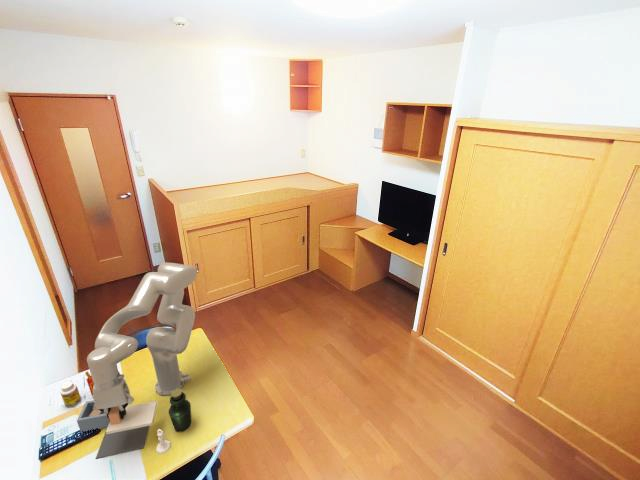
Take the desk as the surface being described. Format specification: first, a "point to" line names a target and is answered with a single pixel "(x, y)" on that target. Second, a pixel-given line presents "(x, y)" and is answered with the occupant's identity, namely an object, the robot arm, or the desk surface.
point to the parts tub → (92, 418)
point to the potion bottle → (180, 411)
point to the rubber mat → (123, 442)
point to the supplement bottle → (70, 394)
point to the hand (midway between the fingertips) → (117, 417)
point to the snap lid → (132, 417)
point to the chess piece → (162, 443)
